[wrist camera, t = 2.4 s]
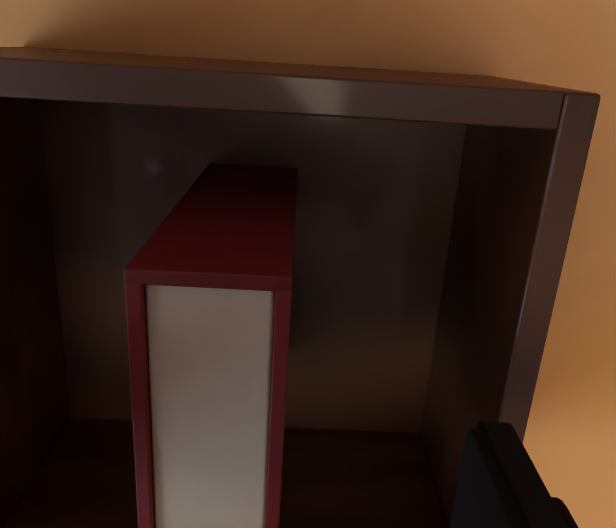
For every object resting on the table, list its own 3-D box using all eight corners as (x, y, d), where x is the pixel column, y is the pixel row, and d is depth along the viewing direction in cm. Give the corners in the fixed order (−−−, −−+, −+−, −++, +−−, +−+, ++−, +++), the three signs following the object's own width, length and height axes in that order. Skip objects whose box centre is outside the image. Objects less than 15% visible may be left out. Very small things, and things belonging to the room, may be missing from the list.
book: (209, 162, 20) (122, 269, 10) (297, 167, 20) (292, 277, 10) (209, 346, 22) (139, 566, 13) (288, 350, 22) (277, 572, 13)
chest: (20, 47, 19) (-156, 47, 12) (491, 76, 20) (603, 94, 12) (60, 421, 24) (-46, 583, 17) (433, 438, 25) (487, 604, 17)
